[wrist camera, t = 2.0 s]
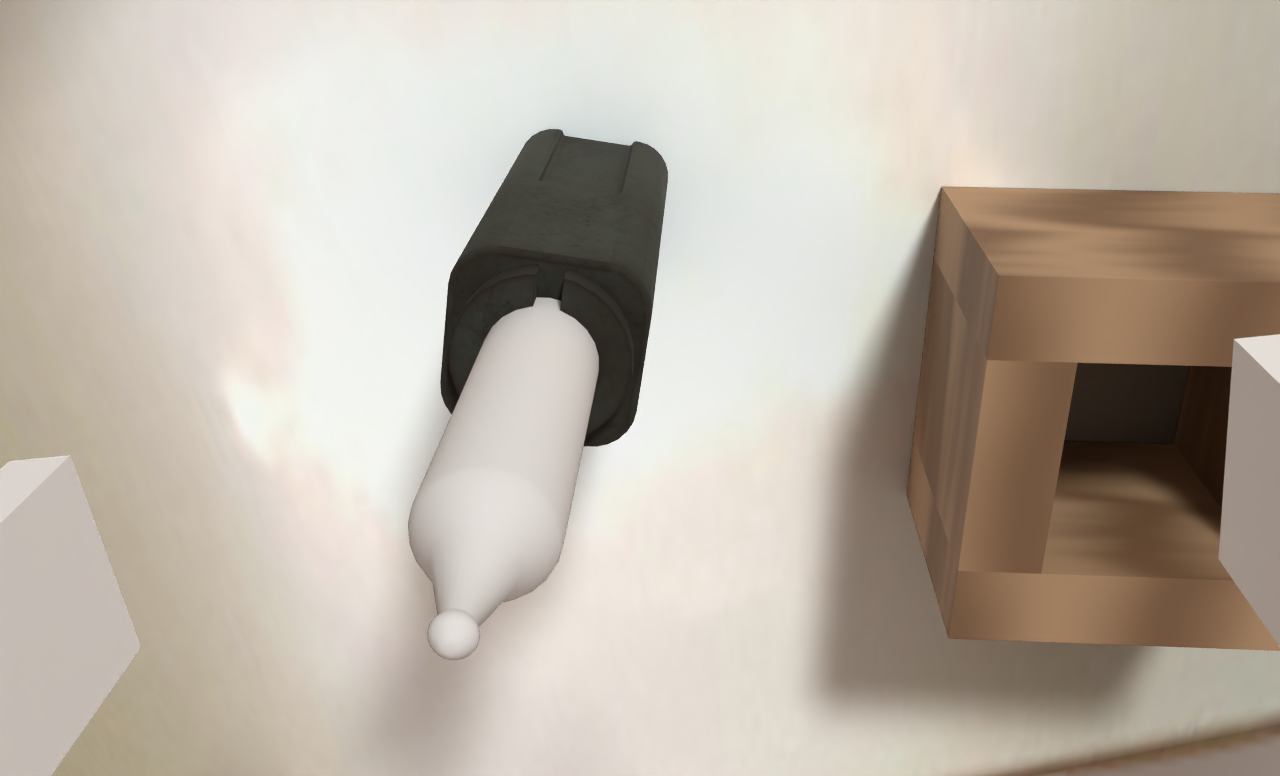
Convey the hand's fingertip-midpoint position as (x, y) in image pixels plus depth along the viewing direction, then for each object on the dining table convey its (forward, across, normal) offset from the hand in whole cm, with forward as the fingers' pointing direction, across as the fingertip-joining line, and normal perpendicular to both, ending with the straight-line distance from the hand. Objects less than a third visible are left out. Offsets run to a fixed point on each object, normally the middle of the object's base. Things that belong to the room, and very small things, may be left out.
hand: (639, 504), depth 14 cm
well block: (+29, +13, -12) cm, 34 cm away
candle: (+29, -4, -4) cm, 29 cm away
